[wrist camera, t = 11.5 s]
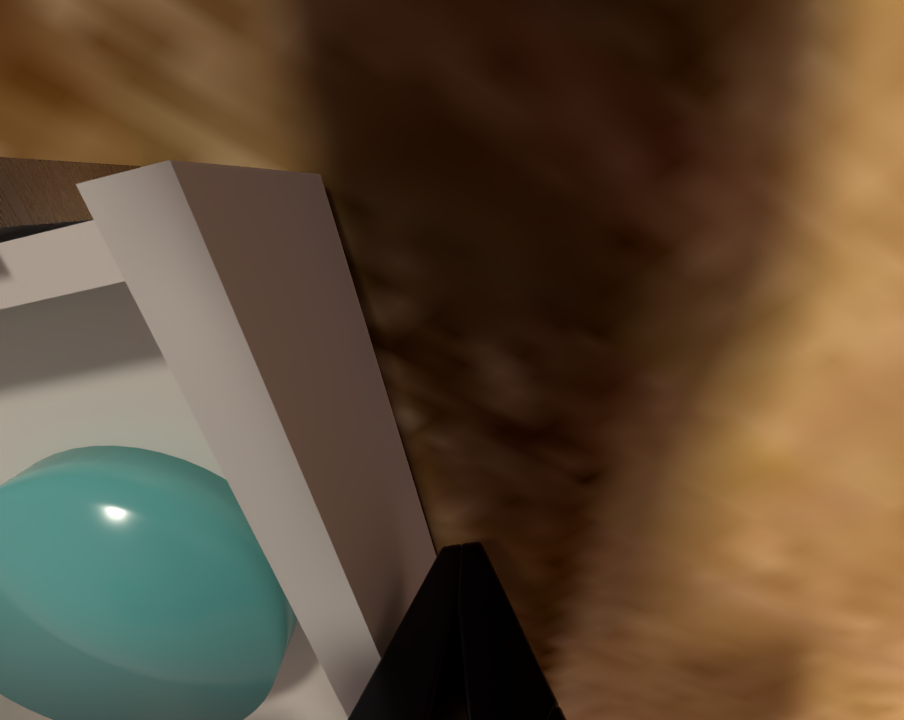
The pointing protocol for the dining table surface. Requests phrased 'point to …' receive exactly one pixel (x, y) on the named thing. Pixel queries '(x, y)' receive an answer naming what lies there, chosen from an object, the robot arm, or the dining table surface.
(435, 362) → the dining table surface
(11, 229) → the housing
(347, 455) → the tray
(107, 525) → the teal hemisphere
